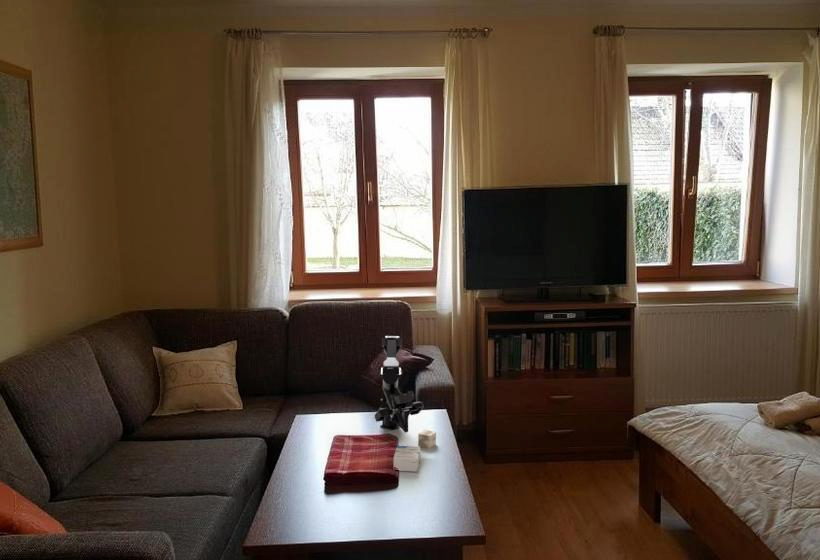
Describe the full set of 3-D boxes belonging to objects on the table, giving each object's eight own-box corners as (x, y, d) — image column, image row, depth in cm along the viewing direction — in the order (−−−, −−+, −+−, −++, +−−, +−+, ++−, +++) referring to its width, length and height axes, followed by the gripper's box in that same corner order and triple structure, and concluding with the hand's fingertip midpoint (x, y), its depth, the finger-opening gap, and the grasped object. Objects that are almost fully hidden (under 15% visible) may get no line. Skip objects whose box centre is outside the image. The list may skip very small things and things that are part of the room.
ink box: (397, 457, 229) (392, 471, 217) (397, 444, 228) (393, 457, 217) (420, 458, 228) (417, 472, 216) (420, 445, 227) (417, 459, 216)
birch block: (418, 446, 241) (418, 433, 240) (424, 441, 245) (424, 429, 244) (429, 448, 238) (429, 436, 238) (435, 444, 242) (436, 432, 242)
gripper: (378, 387, 230) (392, 426, 222) (421, 381, 239) (436, 417, 232) (368, 402, 238) (381, 440, 230) (411, 395, 247) (425, 431, 239)
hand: (406, 431), depth 233 cm, fingers closed
